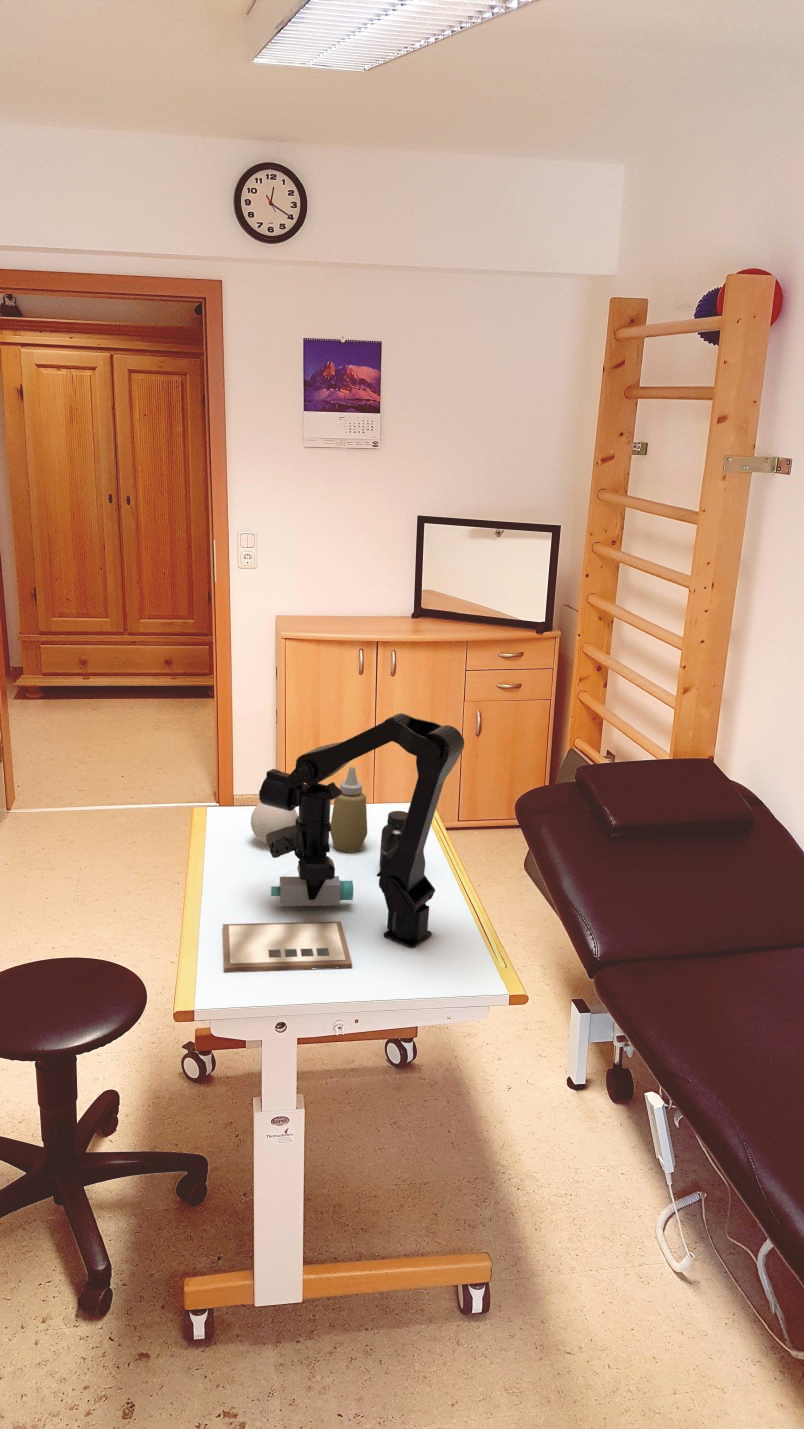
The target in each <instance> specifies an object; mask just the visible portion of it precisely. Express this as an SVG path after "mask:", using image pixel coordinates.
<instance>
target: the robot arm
mask: <svg viewBox="0 0 804 1429" xmlns="http://www.w3.org/2000/svg"><path fill="white" fill-rule="evenodd" d="M392 742H393V743H395V744H397V745H399V746H400V747H401V748H402V749H403V750H405V751H406V752H407V753H408V754H411V755H413V756H415V757H416V758H415V766H416V772H417V780H416V784H415V786H414V789H413V793H412V797H411V799H410V800H411V801H410V804H409V807H408V812H407V813H408V814H407V817H406V820H405V824H404V827H403V831H402V834H401V838H400V841H399V845H397V846H396V847H395V848H393V849H392V850H391V851H389V852H388V853H387V854H385V855H384V856H383V858H382V863H381V869H380V868H379V871H378V873H377V874H376V877H379V879H378V888H379V889H380V890H381V892H382V894H383V897H384V900H385V904H386V907H387V923H386V925H387V926H386V929H387V930H386V931H385V932H383V937H384V938H387V939H389V940H392V941H395V942H397V943H399V944H402V945H405V946H407V947H408V948H414V947H416V946H417V945H419V944H421V943H423V941H425V940H427V939H428V938H430V937H431V936H432V935H433V932H432V931H430V930H429V929H428V926H429V916H430V906H429V905H427V904H426V903H427V902H429V901H430V900H431V899H433V896H434V894H436V893H435V892H436V888H435V887H434V886H433V884H432V883H431V882H430V880H429V879H428V877H427V876H426V875H425V870H426V858H425V853H424V852H425V850H424V849H425V846H426V843H427V839H428V835H429V833H430V829H431V827H432V823H433V820H434V816H435V812H436V810H437V806H438V803H439V800H440V796H441V792H442V790H443V786H444V783H445V780H446V779H447V777H448V776H449V774H450V773H451V771H452V770H453V768H454V767H455V765H456V764H457V762H458V761H459V758H460V756H461V754H462V752H463V750H464V747H465V739H464V737H463V735H462V733H461V732H460V731H459V730H458V728H456V727H454V726H452V725H447V724H446V725H442V724H439V723H437V722H433V721H429V720H424V719H419V718H415V717H413V716H410V715H408V714H405V713H401V712H400V713H397V714H394V715H392V716H390V717H388V718H386V719H385V720H384V721H383V722H381V723H379V724H377V725H376V726H373V727H371V728H369V729H367V730H365V731H363V732H361V733H359V734H357V735H355V736H353V737H350V738H348V739H346V740H344V741H341V742H340V741H339V742H335V743H330V744H325V745H321V746H318V747H315V748H314V749H311V750H309V751H308V752H305V753H304V754H301V755H300V756H298V757H297V758H296V760H295V765H294V766H295V768H294V769H293V770H292V772H291V773H288V772H283V771H282V770H279V769H275V768H272V769H269V770H267V771H266V773H265V774H266V777H265V778H264V780H263V782H262V784H261V787H260V789H259V792H258V796H259V801H260V802H261V803H262V804H264V805H268V806H272V807H276V808H280V809H284V810H288V811H292V810H294V809H295V810H296V808H298V816H297V819H296V821H295V825H293V826H290V827H285V828H282V829H279V830H276V831H273V832H270V833H268V834H267V835H266V840H267V844H266V845H267V847H268V850H269V853H270V855H271V858H273V859H275V858H279V857H281V856H284V855H286V854H289V853H292V852H294V855H295V858H297V859H298V862H297V866H296V868H297V872H298V877H299V879H302V880H306V885H307V891H308V897H309V900H315V898H316V897H317V895H318V893H319V891H320V889H321V888H322V886H323V884H324V882H325V881H326V880H332V879H334V878H335V876H336V875H335V874H336V868H335V864H334V860H333V859H331V857H330V856H328V855H327V853H330V852H331V845H330V842H329V841H330V840H329V839H330V831H331V802H332V800H335V798H336V797H338V796H340V795H342V791H341V790H340V787H338V786H337V785H336V784H335V782H331V783H329V784H323V783H321V782H323V781H324V780H326V779H329V778H330V777H332V776H334V775H335V774H337V773H338V772H339V771H340V770H341V769H343V768H344V767H345V766H347V765H348V763H350V762H351V761H354V760H355V759H358V758H359V757H362V756H363V755H366V754H368V753H371V752H372V751H374V750H376V749H378V748H379V749H380V747H382V746H385V745H386V744H389V743H392Z"/></svg>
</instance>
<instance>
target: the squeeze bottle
mask: <svg viewBox="0 0 804 1429" xmlns="http://www.w3.org/2000/svg"><path fill="white" fill-rule="evenodd" d="M339 789H340V790H341V791H342V795H340V796H338V797H336V798H335V799H333V800H334V801H333V808H332V814H331V818H330V824H331V831H329V834H330V836H331V840H332V844H333V847H334V849H336V850H337V851H340V852H344V853H345V852H346V853H353V852H358V851H359V850H361V849H362V848H363V845H364V842H365V840H366V837H367V835H368V813H367V811H368V810H367V796H366V794H364V793H363V784H362V783H361V782H360V781H358V778H357V774H356V768H355V767H354V766H350V767H349V768H348V771H347V774H346V778H345V781H342V782H340V783H339Z"/></svg>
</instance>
